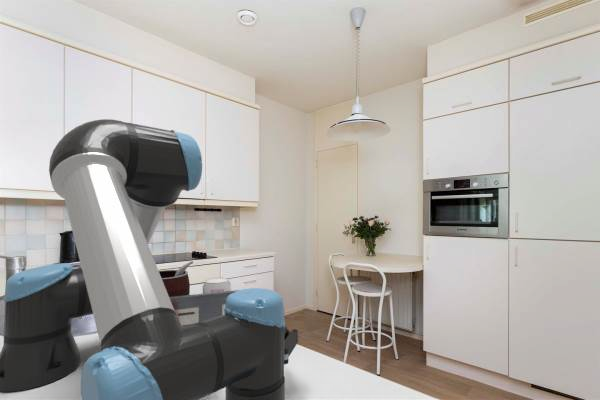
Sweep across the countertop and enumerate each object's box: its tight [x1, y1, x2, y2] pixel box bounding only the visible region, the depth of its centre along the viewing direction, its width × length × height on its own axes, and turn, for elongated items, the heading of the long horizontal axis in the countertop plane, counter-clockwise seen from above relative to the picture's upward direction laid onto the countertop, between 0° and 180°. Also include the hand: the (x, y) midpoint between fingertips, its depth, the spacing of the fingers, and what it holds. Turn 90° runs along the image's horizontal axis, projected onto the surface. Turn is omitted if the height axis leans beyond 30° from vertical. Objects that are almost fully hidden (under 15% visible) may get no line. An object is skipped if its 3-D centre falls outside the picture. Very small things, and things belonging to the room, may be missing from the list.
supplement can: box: [202, 277, 232, 294], centre depth 94 cm, size 8×8×15 cm
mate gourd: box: [158, 260, 194, 297], centre depth 93 cm, size 16×14×20 cm
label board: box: [169, 289, 239, 327], centre depth 82 cm, size 22×2×14 cm, turn 112°
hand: (247, 326), depth 70 cm, fingers open, 13 cm apart
